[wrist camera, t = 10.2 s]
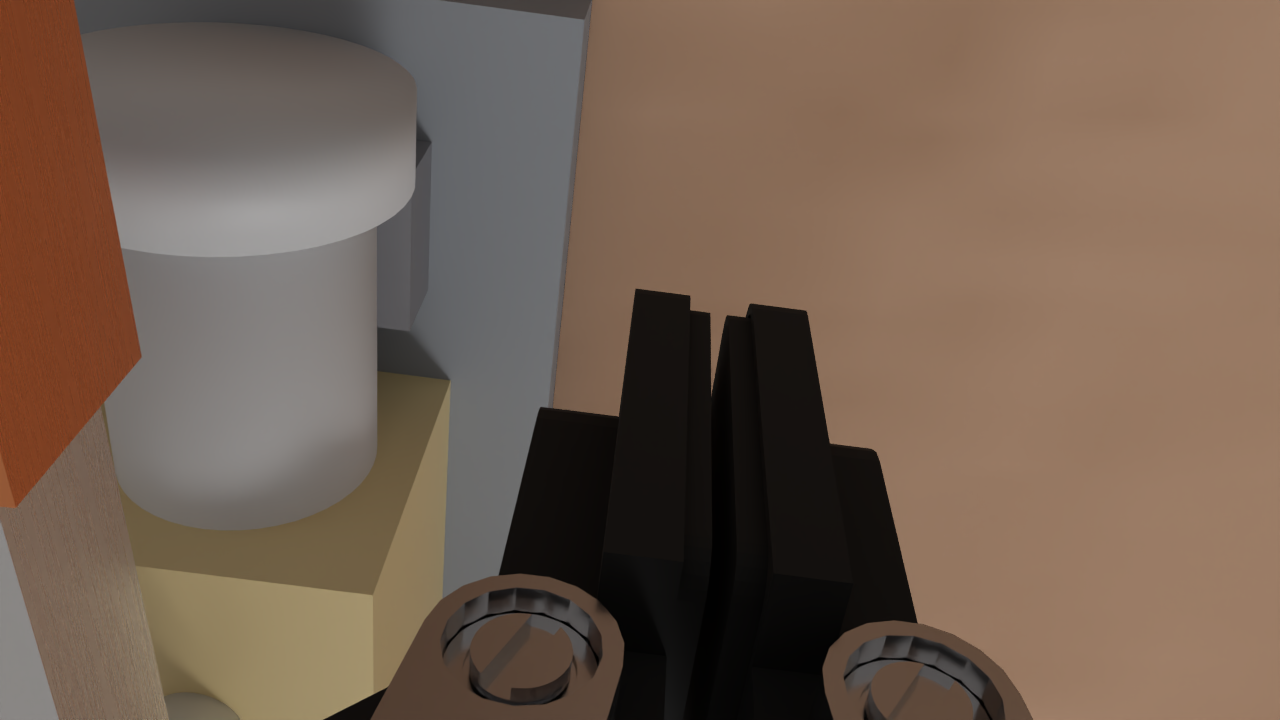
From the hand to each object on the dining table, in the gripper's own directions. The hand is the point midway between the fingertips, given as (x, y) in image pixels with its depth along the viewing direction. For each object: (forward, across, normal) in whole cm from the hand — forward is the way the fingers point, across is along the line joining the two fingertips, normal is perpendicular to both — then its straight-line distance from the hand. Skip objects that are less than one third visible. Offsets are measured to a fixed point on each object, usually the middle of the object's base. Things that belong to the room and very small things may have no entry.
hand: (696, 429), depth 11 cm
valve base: (+11, +7, +9) cm, 16 cm away
